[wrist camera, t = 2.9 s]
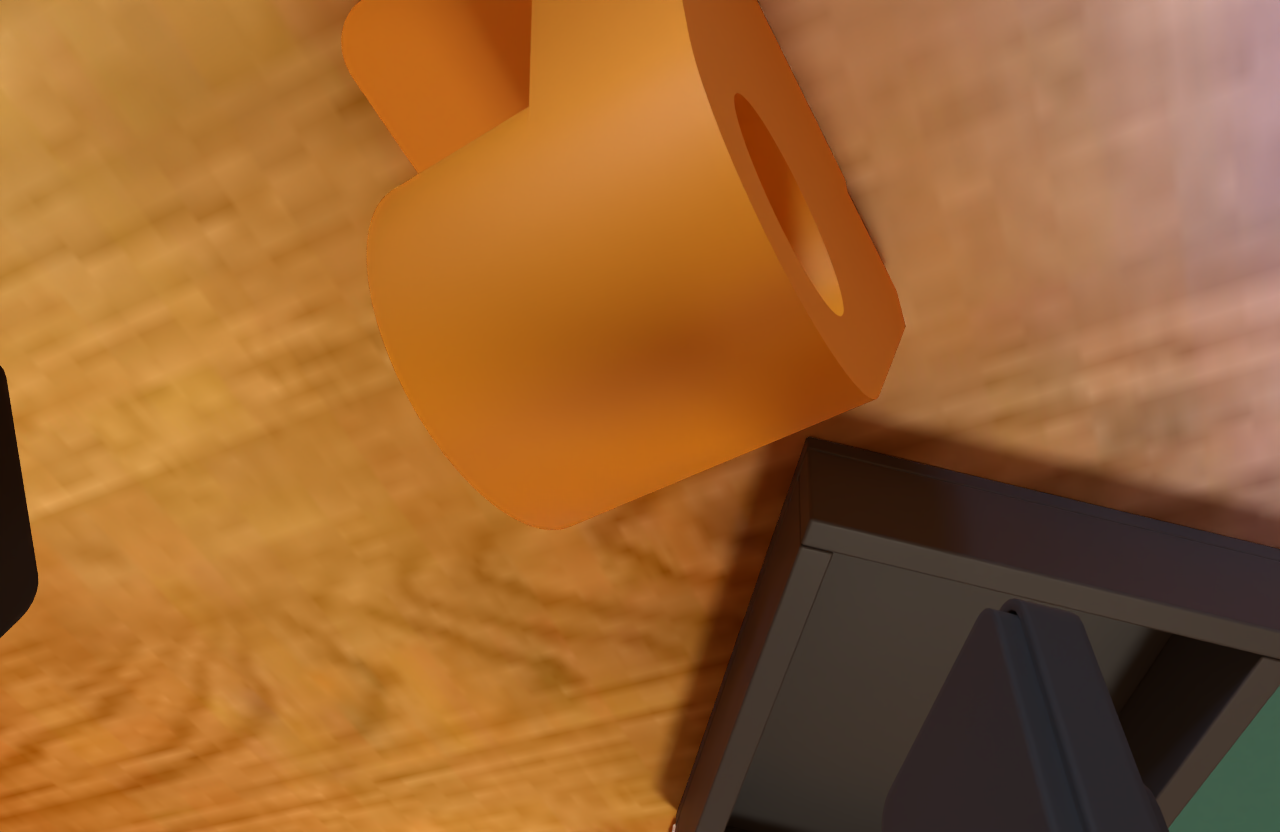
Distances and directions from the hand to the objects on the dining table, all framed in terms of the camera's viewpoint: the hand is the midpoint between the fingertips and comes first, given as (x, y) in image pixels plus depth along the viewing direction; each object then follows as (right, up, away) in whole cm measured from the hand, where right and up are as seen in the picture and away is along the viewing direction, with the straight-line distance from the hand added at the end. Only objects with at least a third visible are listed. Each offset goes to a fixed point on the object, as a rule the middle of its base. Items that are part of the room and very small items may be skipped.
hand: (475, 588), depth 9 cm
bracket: (+2, +8, +13) cm, 15 cm away
